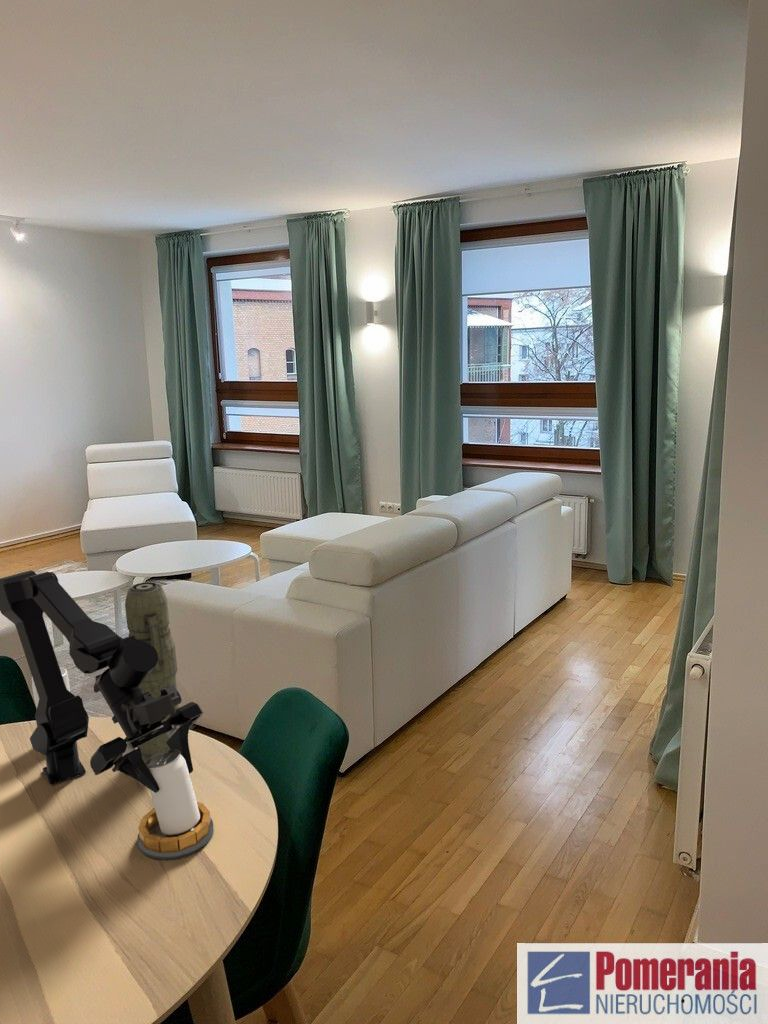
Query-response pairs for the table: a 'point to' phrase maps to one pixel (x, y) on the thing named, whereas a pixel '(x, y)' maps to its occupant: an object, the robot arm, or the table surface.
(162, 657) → the thermos
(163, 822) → the can
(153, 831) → the ring plate
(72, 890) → the table surface
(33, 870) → the table surface
